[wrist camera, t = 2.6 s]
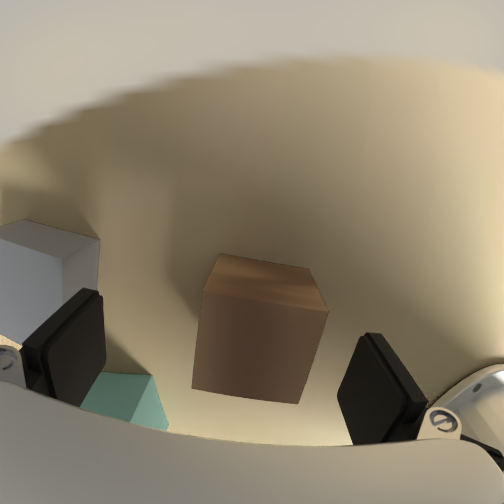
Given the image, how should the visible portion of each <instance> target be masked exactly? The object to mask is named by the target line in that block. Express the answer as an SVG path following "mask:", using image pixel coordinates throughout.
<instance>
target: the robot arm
mask: <svg viewBox="0 0 504 504" xmlns="http://www.w3.org/2000/svg"><path fill="white" fill-rule="evenodd" d="M22 346H23V347H22V348H21V349H20V350H19V351H18V350H17V349H16V348H14V347H12V346H8V345H0V504H504V364H495V365H492V366H489V367H486V368H484V369H481V370H479V371H477V372H475V373H473V374H472V375H470V376H469V377H467V378H465V379H464V380H462V381H461V382H459V383H458V384H457V385H455V386H454V387H453V388H451V389H450V390H449V391H448V392H446V393H445V394H444V395H443V396H442V397H441V398H439V399H438V400H437V401H436V402H435V403H434V404H433V405H432V406H431V407H430V408H429V409H428V410H427V409H426V407H425V406H426V404H427V403H428V400H427V399H426V397H425V396H424V394H423V393H422V391H421V390H420V388H419V387H418V385H417V384H416V382H415V381H414V379H413V378H412V376H411V375H410V374H409V372H408V371H407V369H406V368H405V366H404V365H403V363H402V362H401V361H400V359H399V358H398V356H397V355H396V354H395V352H394V351H393V349H392V348H391V346H390V345H389V344H388V342H387V341H386V339H385V338H384V337H383V335H382V334H380V333H368V332H367V333H365V334H364V336H361V337H360V338H359V340H358V343H357V345H356V348H355V351H354V353H353V356H352V358H351V361H350V363H349V366H348V368H347V371H346V373H345V376H344V378H343V380H342V383H341V385H340V387H339V390H338V393H337V399H338V402H339V405H340V408H341V411H342V414H343V417H344V420H345V422H346V425H347V428H348V431H349V434H350V437H351V440H352V443H353V445H342V446H292V445H271V444H256V443H245V442H235V441H227V440H219V439H211V438H204V437H198V436H192V435H186V434H181V433H175V432H170V431H165V430H160V429H155V428H151V427H147V426H142V425H138V424H134V423H130V422H126V421H123V420H119V419H115V418H112V417H108V416H105V415H102V414H98V413H95V412H92V411H89V410H86V409H83V408H80V406H81V404H82V402H83V401H84V399H85V397H86V395H87V394H88V392H89V390H90V389H91V387H92V385H93V384H94V382H95V380H96V379H97V377H98V375H99V374H100V372H101V370H102V369H103V367H104V365H105V363H106V347H105V333H104V312H103V297H102V296H101V295H99V292H98V291H97V290H92V289H88V288H84V287H83V288H82V289H80V290H79V291H78V292H77V293H76V294H75V295H74V296H72V297H71V298H70V299H69V300H68V301H67V302H66V303H65V304H63V305H62V306H61V307H60V308H59V309H58V310H57V311H56V312H55V313H53V314H52V315H51V316H50V317H49V318H48V319H47V320H46V321H45V322H44V323H43V324H42V325H40V326H39V327H38V328H37V329H36V330H35V331H34V332H33V333H32V334H31V335H30V336H29V337H28V338H27V339H26V340H25V341H24V342H23V343H22Z"/></svg>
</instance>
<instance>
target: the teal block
mask: <svg viewBox="0 0 504 504" xmlns="http://www.w3.org/2000/svg"><path fill="white" fill-rule="evenodd" d="M80 408H83V409H86V410H89V411H92V412H95V413H98V414H102V415H105V416H108V417H112V418H115V419H119V420H123V421H126V422H130V423H134V424H138V425H142V426H147V427H151V428H155V429H160V430H165V431H167V428H168V425H169V424H168V421H167V418H166V415H165V413H164V410H163V407H162V404H161V401H160V398H159V395H158V392H157V389H156V386H155V383H154V380H153V376H152V375H138V374H122V373H108V372H100V374H99V375H98V377H97V379H96V380H95V382H94V384H93V385H92V387H91V389H90V390H89V392H88V394H87V395H86V397H85V399H84V401H83V402H82V404H81V406H80Z"/></svg>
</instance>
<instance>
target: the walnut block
mask: <svg viewBox="0 0 504 504" xmlns="http://www.w3.org/2000/svg"><path fill="white" fill-rule="evenodd" d="M328 312H329V311H328V309H327V307H326V305H325V303H324V301H323V298H322V296H321V294H320V292H319V290H318V288H317V286H316V284H315V282H314V280H313V277H312V275H311V273H310V271H309V269H305V268H299V267H293V266H287V265H282V264H276V263H270V262H265V261H259V260H253V259H248V258H242V257H236V256H231V255H225V254H219V256H218V258H217V260H216V263H215V265H214V267H213V269H212V271H211V273H210V276H209V278H208V280H207V282H206V284H205V287H204V289H203V291H202V299H201V307H200V315H199V323H198V332H197V341H196V350H195V359H194V368H193V378H192V389H197V390H202V391H207V392H212V393H218V394H224V395H230V396H236V397H243V398H249V399H257V400H264V401H273V402H282V403H292V404H298V403H299V400H300V398H301V395H302V392H303V389H304V386H305V384H306V381H307V378H308V375H309V372H310V369H311V366H312V363H313V360H314V357H315V354H316V351H317V348H318V345H319V342H320V339H321V336H322V332H323V329H324V326H325V323H326V319H327V316H328Z"/></svg>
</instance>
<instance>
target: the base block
mask: <svg viewBox="0 0 504 504" xmlns="http://www.w3.org/2000/svg"><path fill="white" fill-rule="evenodd" d="M99 249H100V239H96V238H92V237H88V236H84V235H80V234H77V233H73V232H69V231H65V230H61V229H58V228H54V227H50V226H46V225H43V224H39V223H35V222H32V221H28V220H20V221H17V222H14V223H10V224H7V225H4V226H1V227H0V334H1V335H3V336H5V337H7V338H8V339H10V340H12V341H14V342H16V343H18V344H20V345H22V343H23V342H24V341H25V340H26V339H27V338H28V337H29V336H30V335H31V334H32V333H33V332H34V331H35V330H36V329H37V328H38V327H39V326H40V325H42V324H43V323H44V322H45V321H46V320H47V319H48V318H49V317H50V316H51V315H52V314H53V313H55V312H56V311H57V310H58V309H59V308H60V307H61V306H62V305H63V304H65V303H66V302H67V301H68V300H69V299H70V298H71V297H72V296H74V295H75V294H76V293H77V292H78V291H79V290H80V289H82V288H83V287H84V288H88V289H92V290H97V279H98V262H99Z"/></svg>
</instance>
